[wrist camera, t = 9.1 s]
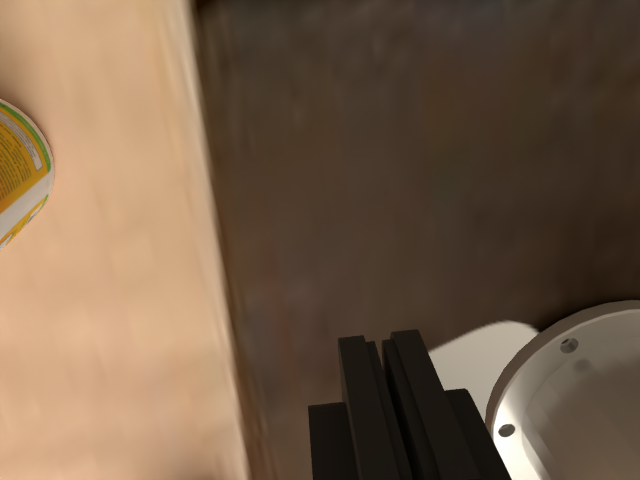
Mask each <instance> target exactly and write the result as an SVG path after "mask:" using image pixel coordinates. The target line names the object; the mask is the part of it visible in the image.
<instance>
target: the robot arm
mask: <svg viewBox="0 0 640 480" xmlns="http://www.w3.org/2000/svg"><path fill="white" fill-rule="evenodd" d="M338 352H339V363H340V375H341V386H342V398H343V402H339V403H330V404H321V405H312V406H308V413H309V428H310V443H311V458H312V472H313V480H640V300H627V301H619V302H611V303H605V304H602V305H598V306H595V307H591V308H588V309H584V310H581V311H579V312H577V313H575V314H573V315H571V316H568V317H566V318H564V319H562V320H560V321H558V322H556V323H555V324H553V325H552V326H550V327H549V328H547V329H546V330H544V331H543V332H541V333H539V334H538V335H537V336H536V337H534V338H533V339H532V340H531V341H530V342H529V343H528V344H526V345H525V346H524V347H523V348H522V349H521V350H520V351H519V352H518V353H517V354H516V355H515V357H514V358H513V359H512V360H511V361H510V362H509V364H508V365H507V366H506V367H505V369H504V370H503V372H502V373H501V375H500V377H499V379H498V380H497V382H496V384H495V386H494V387H493V390H492V393H491V396H490V399H489V402H488V404H487V409H486V418H485V423H484V421H483V420H482V418H481V415H480V413H479V411H478V409H477V407H476V405H475V403H474V401H473V399H472V397H471V395H470V394H469V392H468V390H466V389H455V390H446V391H444V389H443V387H442V385H441V382H440V380H439V378H438V375H437V373H436V370H435V368H434V366H433V363H432V361H431V359H430V356H429V354H428V352H427V349H426V347H425V345H424V342H423V340H422V338H421V335H420V333H419V331H418V330H417V329H416V330H407V331H398V332H391V339H389V340H382V361H383V369H382V366H381V362H380V358H379V355H378V351H377V348H376V344H375V342H374V341H370V342H365V339H364V336H363V335H361V336H352V337H343V338H338Z"/></svg>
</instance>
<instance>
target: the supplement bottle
mask: <svg viewBox="0 0 640 480" xmlns="http://www.w3.org/2000/svg"><path fill="white" fill-rule="evenodd" d="M54 177H55V169H54V161H53V157H52V153H51V150H50V148H49V146H48V143H47V141H46V139H45V138H44V136H43V134H42V133H41V131H40V130H39V129H38V127H37V126H36V125H35V124H34V122H33V121H32V120H31V119H30V118H29V117H28V116H27V115H26V114H24V113H23V112H22V111H21V110H19V109H18V108H16V107H15V106H13V105H11V104H10V103H8V102H6V101H4V100H2V99H0V251H1V250H2V249H3V248H4V247H5V246H6V245H7V244H8V243H9V242H10V241H11V240H12V239H13V238H14V237H15V236H16V235H17V234H18V233H19V232H20V231H21V230H22V229H23V228H24V227H25V226H26V225H27V224H28V223H29V222H30V221H31V220H32V219H33V218H34V217H35V216H36V215H37V213H38V212H39V211H40V210H41V209H42V207H43V206H44V205H45V203H46V202H47V200H48V198H49V196H50V194H51V191H52V188H53V184H54Z"/></svg>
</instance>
